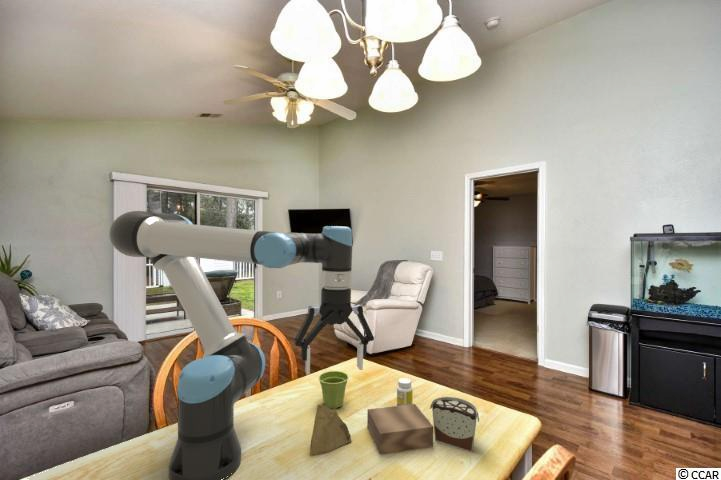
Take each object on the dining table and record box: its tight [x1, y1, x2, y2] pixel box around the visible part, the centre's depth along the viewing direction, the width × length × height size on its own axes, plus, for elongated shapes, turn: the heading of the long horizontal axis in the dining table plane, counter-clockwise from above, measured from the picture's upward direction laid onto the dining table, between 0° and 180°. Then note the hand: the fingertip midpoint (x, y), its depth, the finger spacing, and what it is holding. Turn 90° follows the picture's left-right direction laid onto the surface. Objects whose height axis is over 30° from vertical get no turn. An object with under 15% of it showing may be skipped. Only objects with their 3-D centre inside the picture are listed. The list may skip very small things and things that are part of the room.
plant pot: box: [318, 370, 350, 410], centre depth 108 cm, size 9×9×9 cm
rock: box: [309, 404, 352, 457], centre depth 87 cm, size 11×9×10 cm
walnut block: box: [366, 403, 434, 455], centre depth 91 cm, size 14×12×5 cm
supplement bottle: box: [396, 377, 413, 406], centre depth 106 cm, size 5×5×8 cm
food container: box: [429, 396, 480, 454], centre depth 90 cm, size 12×6×10 cm, turn 59°
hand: (334, 370), depth 88 cm, fingers open, 13 cm apart
